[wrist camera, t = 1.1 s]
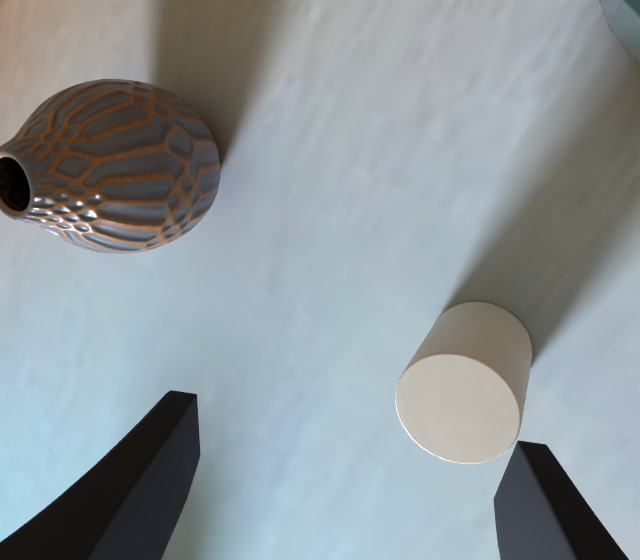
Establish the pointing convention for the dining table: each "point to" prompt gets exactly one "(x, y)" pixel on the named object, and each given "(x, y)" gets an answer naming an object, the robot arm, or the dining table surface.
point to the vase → (111, 167)
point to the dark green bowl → (624, 23)
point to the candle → (467, 384)
